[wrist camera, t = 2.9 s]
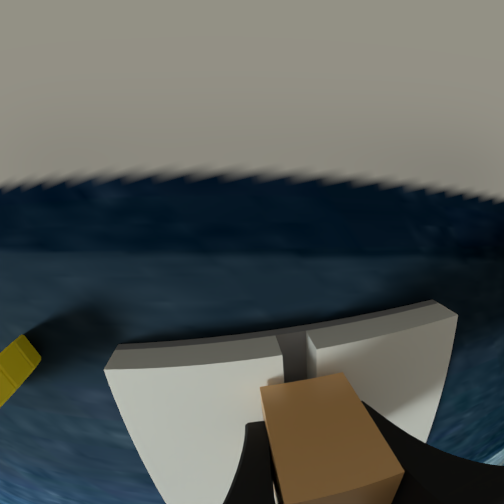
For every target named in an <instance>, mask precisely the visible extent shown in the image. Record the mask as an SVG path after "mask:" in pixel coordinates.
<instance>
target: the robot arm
mask: <svg viewBox="0 0 504 504" xmlns="http://www.w3.org/2000/svg"><path fill="white" fill-rule="evenodd" d="M361 402H362V403H363V405H364V407H365V408H366V410H367V411H368V413H369V415H370V416H371V418H372V419H373V421H374V423H375V424H376V426H377V427H378V429H379V431H380V432H381V434H382V435H383V437H384V439H385V440H386V442H387V444H388V445H389V447H390V448H391V450H392V452H393V453H394V455H395V456H396V458H397V460H398V461H399V463H400V465H401V466H402V468H403V469H404V471H405V472H404V475H403V477H402V480H401V482H400V485H399V487H398V489H397V492H396V494H395V496H394V498H393V501H392V503H391V504H504V466H498V465H490V464H485V463H479V462H475V461H471V460H467V459H464V458H460V457H457V456H454V455H451V454H449V453H446V452H443V451H441V450H439V449H437V448H434V447H432V446H430V445H428V444H426V443H424V442H422V441H420V440H419V439H417V438H415V437H413V436H412V435H410V434H408V433H407V432H405V431H404V430H402V429H401V428H399V427H398V426H396V425H395V424H393V423H392V422H390V421H389V420H388V419H386V418H385V417H384V416H382V415H381V414H380V413H378V412H377V411H376V410H374V409H373V408H372V407H370V406H369V405H368V404H366V403H365V402H364V401H361ZM223 504H276V503H275V498H274V486H273V476H272V466H271V457H270V447H269V438H268V433H267V429H266V425H265V421H257V422H249V423H247V424H246V425H245V437H244V443H243V448H242V453H241V456H240V460H239V464H238V467H237V470H236V473H235V476H234V479H233V481H232V484H231V487H230V489H229V491H228V494H227V496H226V498H225V500H224V502H223Z"/></svg>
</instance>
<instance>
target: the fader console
mask: <svg viewBox="0 0 504 504" xmlns="http://www.w3.org/2000/svg"><path fill="white" fill-rule="evenodd" d="M457 318H458V315H457V314H456V313H454V312H453V311H451V310H449V309H448V308H446V307H444V306H443V305H441V304H439V303H438V302H436V301H434V300H433V299H432V300H428V301H424V302H420V303H415V304H411V305H407V306H402V307H398V308H393V309H388V310H384V311H379V312H374V313H369V314H364V315H359V316H354V317H348V318H343V319H337V320H332V321H326V322H320V323H314V324H308V325H302V326H295V327H289V328H282V329H275V330H268V331H260V332H253V333H245V334H237V335H228V336H219V337H209V338H199V339H188V340H177V341H164V342H150V343H133V344H118V345H117V347H116V349H115V351H114V352H113V354H112V356H111V358H110V359H109V361H108V363H107V365H106V366H105V368H104V372H105V375H106V377H107V380H108V383H109V386H110V388H111V391H112V393H113V396H114V399H115V401H116V404H117V406H118V408H119V411H120V413H121V416H122V418H123V420H124V423H125V425H126V427H127V429H128V432H129V434H130V436H131V438H132V440H133V442H134V445H135V447H136V449H137V451H138V453H139V455H140V457H141V459H142V461H143V463H144V465H145V467H146V469H147V470H148V472H149V474H150V476H151V478H152V480H153V482H154V483H155V485H156V487H157V489H158V491H159V492H160V494H161V496H162V497H163V499H164V501H165V503H166V504H223V502H224V500H225V498H226V496H227V494H228V491H229V489H230V487H231V484H232V481H233V479H234V476H235V473H236V470H237V467H238V464H239V460H240V456H241V453H242V448H243V443H244V437H245V425H246V424H247V423H249V422H257V421H263V413H262V404H261V395H260V387H262V386H269V385H276V384H283V383H288V382H294V381H299V380H306V379H311V378H317V377H322V376H327V375H331V374H336V373H341V372H343V373H344V375H345V376H346V378H347V380H348V381H349V383H350V384H351V386H352V388H353V389H354V391H355V392H356V394H357V395H358V397H359V399H360V400H361V401H364V402H365V403H366V404H368V405H369V406H370V407H372V408H373V409H374V410H376V411H377V412H378V413H380V414H381V415H382V416H384V417H385V418H386V419H388V420H389V421H390V422H392V423H393V424H395V425H396V426H398V427H399V428H401V429H402V430H404V431H405V432H407V433H408V434H410V435H412V436H413V437H415V438H417V439H419V440H420V441H422V442H424V443H426V441H427V438H428V435H429V432H430V429H431V426H432V423H433V420H434V417H435V414H436V410H437V407H438V404H439V400H440V397H441V393H442V390H443V386H444V382H445V378H446V374H447V370H448V365H449V361H450V356H451V352H452V347H453V342H454V336H455V331H456V325H457ZM274 498H275V493H274ZM275 503H276V498H275ZM276 504H277V503H276Z"/></svg>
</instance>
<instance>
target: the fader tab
mask: <svg viewBox="0 0 504 504" xmlns="http://www.w3.org/2000/svg"><path fill="white" fill-rule="evenodd" d="M260 395H261V404H262V413H263V421H265V425H266V429H267V433H268V438H269V447H270V457H271V466H272V476H273V486H274V493H275V498H276V503H277V504H391V503H392V501H393V498H394V496H395V494H396V492H397V489H398V487H399V485H400V482H401V480H402V477H403V475H404V472H405V471H404V469H403V468H402V466H401V465H400V463H399V461H398V460H397V458H396V456H395V455H394V453H393V452H392V450H391V448H390V447H389V445H388V444H387V442H386V440H385V439H384V437H383V435H382V434H381V432H380V431H379V429H378V427H377V426H376V424H375V423H374V421H373V419H372V418H371V416H370V415H369V413H368V411H367V410H366V408H365V407H364V405H363V403H362V402H361V400H360V399H359V397H358V395H357V394H356V392H355V391H354V389H353V388H352V386H351V384H350V383H349V381H348V380H347V378H346V376H345V375H344V373H343V372H341V373H336V374H331V375H327V376H322V377H317V378H311V379H306V380H299V381H294V382H288V383H283V384H276V385H269V386H262V387H260Z"/></svg>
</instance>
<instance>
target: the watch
mask: <svg viewBox="0 0 504 504" xmlns="http://www.w3.org/2000/svg"><path fill="white" fill-rule="evenodd" d="M40 361H41V356H40V355H39V353H38V352H37V351H36V350H35V348H34V347H33V346H32V345H31V343H30V342H29V341H28V339H27V338H26V337H25V335H20V336H19V337H18V338H17V339H16V340H14V341H13V342H12V343H11V344H10V345H9V346H8V347H6V348H5V349H4V350H3V351H2V352H1V353H0V407H1V406H2V405H3V404H4V403H5V402H6V401H7V400H8V399H9V398H10V396H11V395H12V394H13V393H14V392H15V391H16V389H18V388H19V387H20V386H21V384H22V383H23V382H24V381H25V380H26V379H27V377H28V376H29V375H30V374H31V373H32V372H33V370H34V369H35V368H36V367H37V365H38V364H39V362H40Z"/></svg>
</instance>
